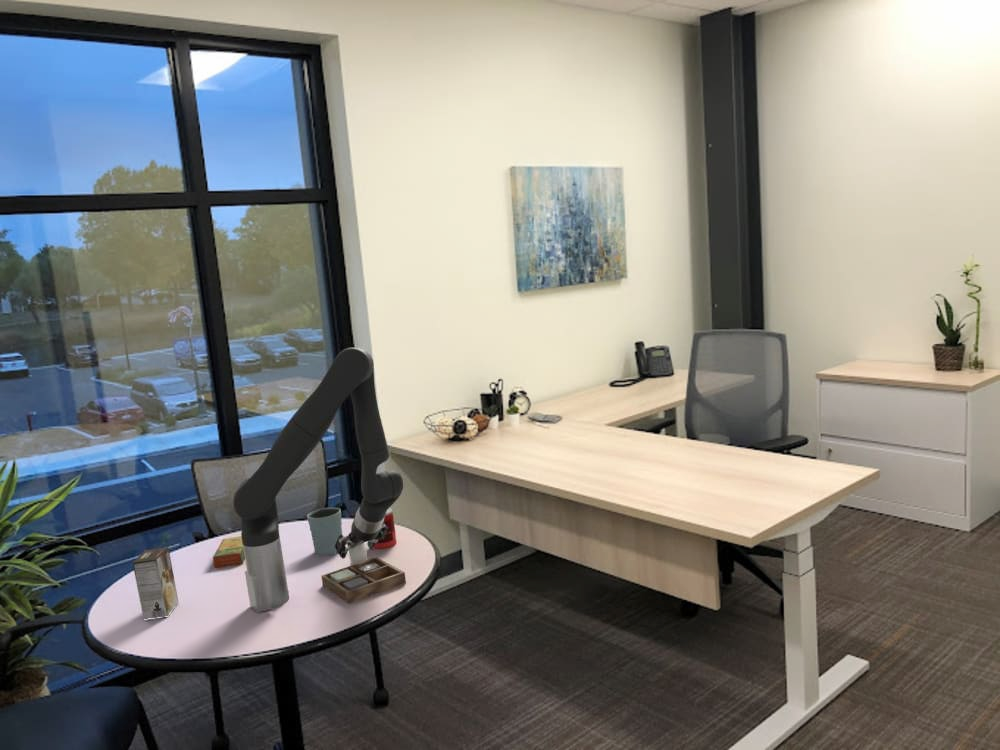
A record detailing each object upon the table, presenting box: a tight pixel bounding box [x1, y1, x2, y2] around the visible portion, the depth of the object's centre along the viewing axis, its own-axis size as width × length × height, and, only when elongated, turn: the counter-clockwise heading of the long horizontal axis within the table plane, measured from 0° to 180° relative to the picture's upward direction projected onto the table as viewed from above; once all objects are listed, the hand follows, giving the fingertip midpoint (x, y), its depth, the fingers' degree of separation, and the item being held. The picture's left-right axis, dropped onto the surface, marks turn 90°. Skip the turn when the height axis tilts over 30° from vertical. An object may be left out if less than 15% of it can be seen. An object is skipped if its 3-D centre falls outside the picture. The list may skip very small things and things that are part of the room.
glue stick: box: [348, 542, 369, 566], centre depth 226 cm, size 5×5×10 cm
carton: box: [212, 535, 245, 569], centre depth 247 cm, size 8×16×4 cm, turn 8°
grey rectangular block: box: [358, 563, 381, 573], centre depth 218 cm, size 5×4×2 cm
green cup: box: [306, 507, 343, 557], centre depth 243 cm, size 10×10×12 cm
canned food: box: [373, 507, 397, 550], centre depth 241 cm, size 8×8×11 cm
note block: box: [330, 569, 356, 582], centre depth 214 cm, size 5×5×3 cm
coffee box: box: [132, 546, 180, 620], centre depth 210 cm, size 9×6×16 cm
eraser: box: [343, 577, 368, 591], centre depth 207 cm, size 5×4×3 cm
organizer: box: [320, 557, 407, 604], centre depth 213 cm, size 16×16×4 cm
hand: (356, 551), depth 227 cm, fingers open, 8 cm apart
